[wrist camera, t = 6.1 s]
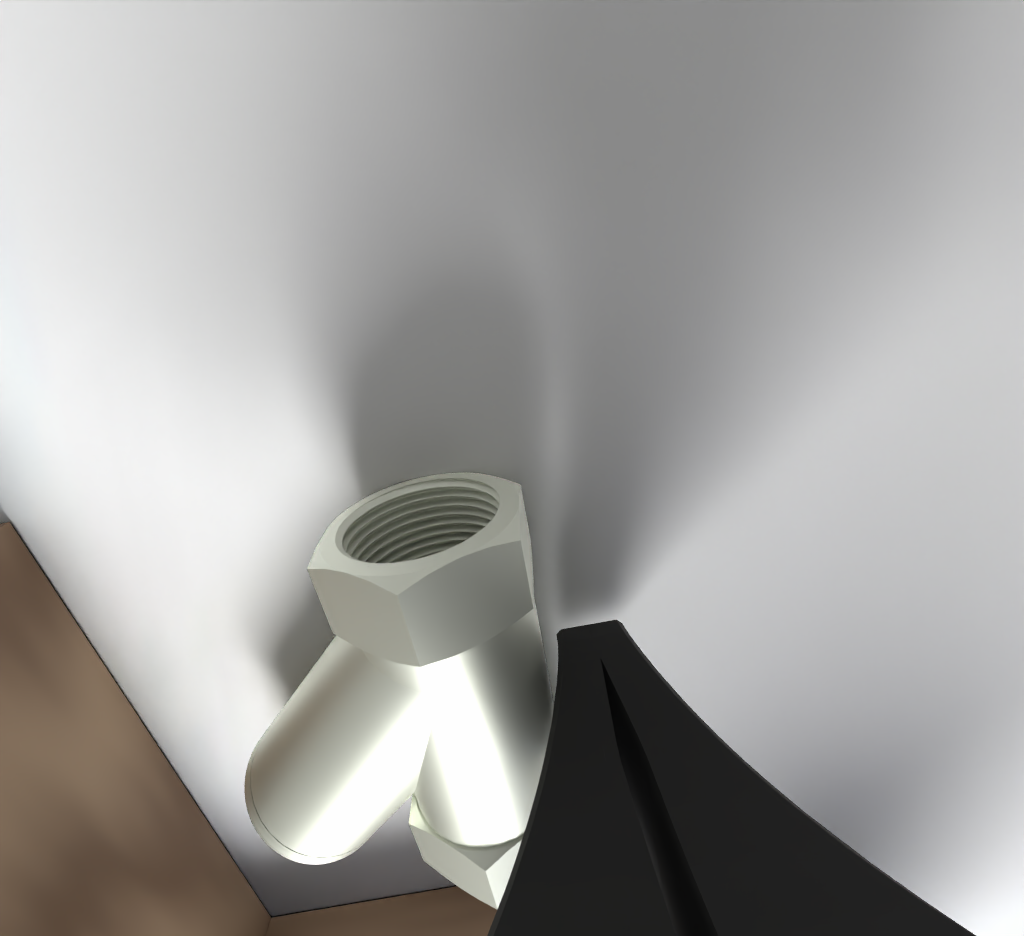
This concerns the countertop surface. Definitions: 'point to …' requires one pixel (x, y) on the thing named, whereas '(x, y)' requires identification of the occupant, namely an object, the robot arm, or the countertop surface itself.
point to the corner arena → (128, 807)
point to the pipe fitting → (416, 687)
